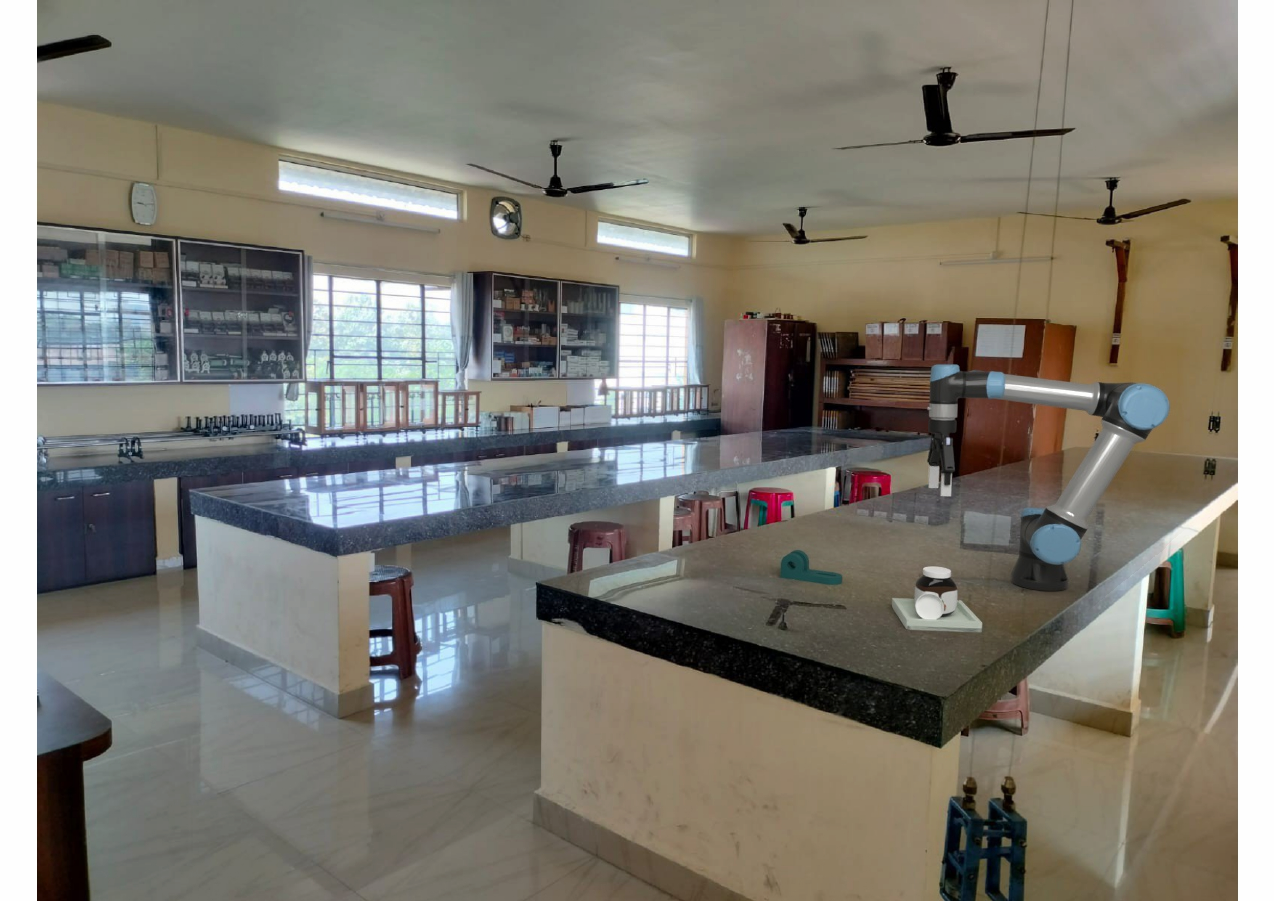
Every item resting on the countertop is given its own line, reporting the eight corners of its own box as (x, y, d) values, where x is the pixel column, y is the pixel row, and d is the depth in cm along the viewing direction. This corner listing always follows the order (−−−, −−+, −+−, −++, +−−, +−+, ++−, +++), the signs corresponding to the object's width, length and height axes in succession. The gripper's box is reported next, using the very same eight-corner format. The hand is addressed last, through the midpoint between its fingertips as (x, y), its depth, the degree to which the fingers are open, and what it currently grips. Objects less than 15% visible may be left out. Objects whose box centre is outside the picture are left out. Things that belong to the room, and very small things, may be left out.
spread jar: (947, 608, 211) (949, 565, 210) (966, 622, 200) (968, 577, 199) (903, 608, 211) (905, 566, 209) (919, 622, 200) (921, 578, 198)
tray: (960, 609, 213) (961, 600, 213) (981, 632, 196) (982, 622, 195) (891, 606, 216) (892, 597, 215) (906, 629, 198) (906, 619, 197)
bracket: (780, 578, 244) (780, 553, 243) (787, 573, 250) (788, 548, 249) (838, 586, 235) (839, 560, 234) (844, 581, 241) (845, 555, 240)
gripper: (918, 415, 239) (915, 484, 242) (940, 422, 215) (937, 499, 217) (944, 415, 238) (941, 485, 241) (969, 422, 214) (965, 499, 216)
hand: (939, 492), depth 229 cm, fingers open, 13 cm apart
